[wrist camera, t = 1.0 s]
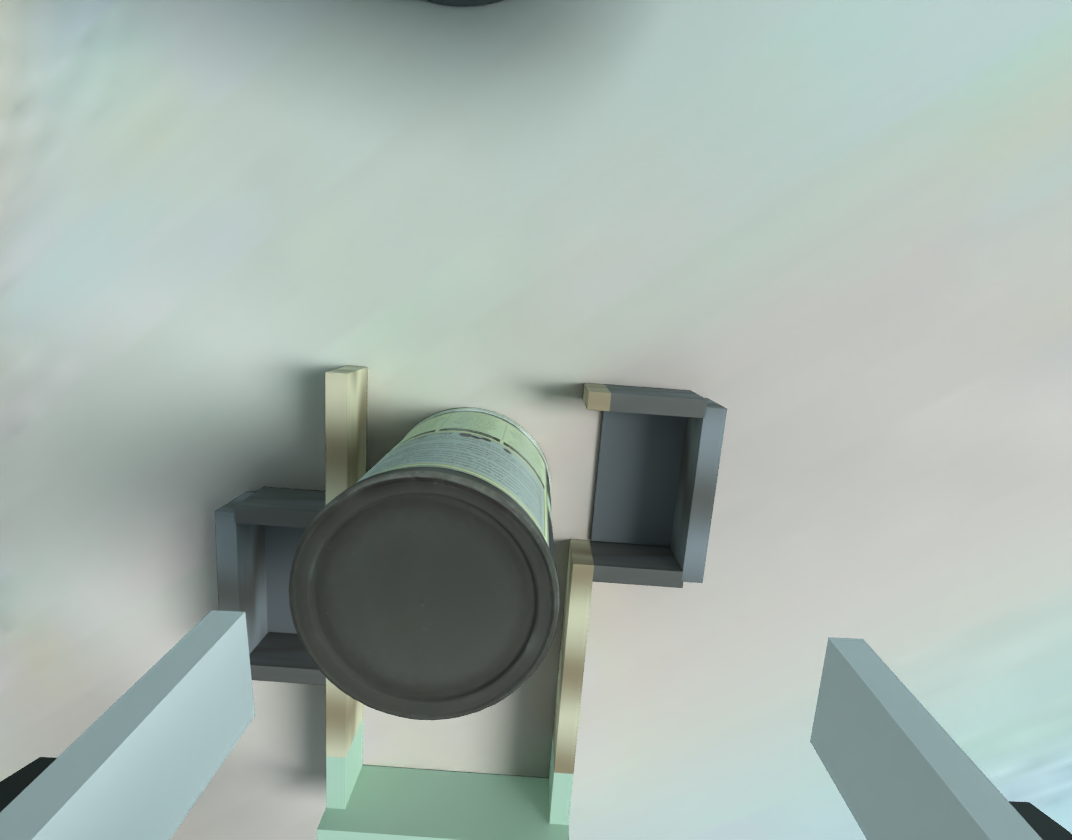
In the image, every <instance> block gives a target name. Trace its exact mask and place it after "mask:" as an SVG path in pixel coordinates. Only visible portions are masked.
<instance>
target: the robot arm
mask: <svg viewBox="0 0 1072 840" xmlns="http://www.w3.org/2000/svg"><path fill="white" fill-rule="evenodd" d="M429 1H433V2H436V3H441V4H447V5H455V6H477V5H485V4H491V3H495V2H499V1H503V0H429ZM254 716H255V710H254V699H253V689H252V678H251V668H250V657H249V646H248V636H247V625H246V614H245V612H238V611H216V610H212V611H210V612H209V613H208V614H207V615H206V616H205V617H204V618H203V619H202V620H201V621H200V622H199V623H198V624H197V625H196V626H195V627H194V628H193V629H192V630H191V631H190V632H189V633H187V634H186V635H185V636H184V637H183V638H182V639H181V640H180V641H179V642H178V643H177V644H176V645H175V646H174V647H173V648H172V649H171V650H170V651H169V652H168V653H167V654H166V655H164V656H163V657H162V658H161V659H160V660H159V661H158V662H157V663H156V664H155V665H154V666H153V667H152V668H151V669H150V670H149V671H148V672H147V673H146V674H145V675H144V676H143V677H141V678H140V679H139V680H138V681H137V682H136V683H135V684H134V685H133V686H132V687H131V688H130V689H129V690H128V691H127V692H126V693H125V694H124V695H123V696H122V697H121V698H120V699H118V700H117V701H116V702H115V703H114V704H113V705H112V706H111V707H110V708H109V709H108V710H107V711H106V712H105V713H104V714H103V715H102V716H101V717H100V718H99V719H98V720H97V721H95V722H94V723H93V724H92V725H91V726H90V727H89V728H88V729H87V730H86V731H85V732H84V733H83V734H82V735H81V736H80V737H79V738H78V739H77V740H76V741H75V742H74V743H72V744H71V745H70V746H69V747H68V748H67V749H66V750H65V751H64V752H63V753H62V754H61V755H60V756H59V757H58V758H47V757H40V758H38V759H36V760H35V761H33V762H32V763H30V764H28V765H27V766H25V767H24V768H22V769H20V770H19V771H17V772H16V773H14V774H12V775H11V776H9V777H7V778H6V779H4V780H3V781H1V782H0V840H170V838H171V837H172V836H173V834H174V833H175V831H176V830H177V828H178V827H179V825H180V824H181V822H182V821H183V820H184V818H185V817H186V815H187V814H188V812H189V811H190V809H191V808H192V806H193V805H194V804H195V802H196V801H197V799H198V798H199V796H200V795H201V793H202V792H203V790H204V789H205V788H206V786H207V785H208V783H209V782H210V780H211V779H212V777H213V776H214V774H215V773H216V772H217V770H218V769H219V767H220V766H221V764H222V763H223V761H224V760H225V758H226V757H227V756H228V754H229V753H230V751H231V750H232V748H233V747H234V745H235V744H236V742H237V741H238V740H239V738H240V737H241V735H242V734H243V732H244V731H245V729H246V728H247V726H248V725H249V724H250V722H251V721H252V719H253V718H254ZM810 742H811V743H812V745H813V747H814V749H815V750H816V752H817V754H818V756H819V757H820V759H821V761H822V762H823V764H824V766H825V768H826V769H827V771H828V773H829V775H830V776H831V778H832V780H833V782H834V783H835V785H836V787H837V789H838V790H839V792H840V794H841V795H842V797H843V799H844V801H845V802H846V804H847V806H848V808H849V809H850V811H851V813H852V815H853V816H854V818H855V820H856V821H857V823H858V825H859V827H860V828H861V830H862V832H863V834H864V835H865V837H866V839H867V840H1072V834H1071V833H1070V832H1069V831H1067V830H1066V829H1065V828H1063V827H1062V826H1060V825H1059V824H1058V823H1056V822H1055V821H1054V820H1052V819H1051V818H1050V817H1048V816H1047V815H1046V814H1044V813H1043V812H1041V811H1040V810H1039V809H1037V808H1036V807H1035V806H1033V805H1032V804H1031V803H1029V802H1010V801H1008V800H1007V799H1006V798H1005V797H1004V796H1003V795H1002V794H1001V793H1000V791H999V790H998V789H997V788H996V787H995V786H994V785H993V784H992V783H991V781H990V780H989V779H988V778H987V777H986V776H985V775H984V774H983V772H982V771H981V770H980V769H979V768H978V767H977V766H976V765H975V764H974V762H973V761H972V760H971V759H970V758H969V757H968V756H967V755H966V753H965V752H964V751H963V750H962V749H961V748H960V747H959V746H958V745H957V743H956V742H955V741H954V740H953V739H952V738H951V737H950V736H949V735H948V733H947V732H946V731H945V730H944V729H943V728H942V727H941V726H940V724H939V723H938V722H937V721H936V720H935V719H934V718H933V717H932V716H931V714H930V713H929V712H928V711H927V710H926V709H925V708H924V707H923V705H922V704H921V703H920V702H919V701H918V700H917V699H916V698H915V697H914V695H913V694H912V693H911V692H910V691H909V690H908V689H907V688H906V686H905V685H904V684H903V683H902V682H901V681H900V680H899V679H898V678H897V676H896V675H895V674H894V673H893V672H892V671H891V670H890V669H889V667H888V666H887V665H886V664H885V663H884V662H883V661H882V660H881V659H880V657H879V656H878V655H877V654H876V653H875V652H874V651H873V650H872V648H871V647H870V646H869V645H868V644H867V643H866V642H865V641H864V640H863V639H852V638H829V637H828V643H827V649H826V654H825V660H824V666H823V672H822V677H821V683H820V689H819V694H818V700H817V706H816V712H815V717H814V723H813V729H812V735H811V740H810Z"/></svg>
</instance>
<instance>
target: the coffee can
mask: <svg viewBox="0 0 1072 840" xmlns="http://www.w3.org/2000/svg"><path fill="white" fill-rule="evenodd" d="M289 605H290V610H291V616H292V620H293V624H294V627H295V629H296V632H297V635H298V637H299V639H300V641H301V643H302V645H303V647H304V648H305V650H306V652H307V654H308V655H309V657H310V658H311V660H312V661H313V663H314V664H315V665H316V666H317V668H318V669H319V670H320V671H321V673H322V674H323V675H324V676H325V677H326V678H327V679H328V680H329V681H330V682H331V683H332V684H334V685H335V686H336V687H337V688H338V689H339V690H341V691H342V692H343V693H345V694H346V695H348V696H350V697H351V698H353V699H354V700H357V701H359V702H361V703H363V704H364V705H366V706H368V707H371V708H373V709H376V710H379V711H382V712H385V713H387V714H391V715H395V716H399V717H404V718H409V719H417V720H440V719H450V718H456V717H460V716H464V715H468V714H471V713H475V712H478V711H481V710H483V709H484V708H487V707H490V706H492V705H494V704H496V703H498V702H499V701H501V700H503V699H504V698H506V697H507V696H509V695H510V694H511V693H513V692H514V691H515V690H517V689H518V688H519V687H520V686H521V685H522V684H524V683H525V682H526V681H527V680H528V678H529V677H530V676H531V675H532V674H533V672H534V671H535V670H536V669H537V667H538V666H539V665H540V663H541V662H542V660H543V659H544V657H545V655H546V653H547V651H548V649H549V647H550V644H551V642H552V639H553V637H554V633H555V630H556V626H557V620H558V614H559V582H558V577H557V571H556V567H555V563H554V547H553V533H552V516H551V478H550V473H549V468H548V465H547V461H546V459H545V457H544V454H543V453H542V451H541V449H540V447H539V446H538V444H537V443H536V441H535V440H534V439H533V438H532V437H531V436H530V435H529V433H528V432H527V431H526V430H524V429H523V428H522V427H521V426H520V425H518V424H517V423H515V422H514V421H512V420H511V419H509V418H507V417H505V416H504V415H501V414H499V413H496V412H492V411H489V410H485V409H478V408H457V409H451V410H446V411H443V412H439V413H436V414H434V415H432V416H430V417H428V418H426V419H424V420H423V421H421V422H420V423H418V424H417V425H416V426H414V427H413V428H412V429H411V430H410V431H409V432H408V433H407V434H406V435H405V436H404V438H403V439H402V441H401V442H400V443H398V444H397V445H396V446H395V447H394V448H393V449H392V450H391V451H390V452H388V453H387V454H386V455H385V456H384V457H383V458H382V459H381V460H380V461H379V462H378V463H377V464H376V465H375V466H373V467H372V468H371V469H370V470H369V471H368V472H367V473H366V474H365V475H364V476H363V477H362V478H361V479H359V480H358V481H357V482H356V483H355V484H354V485H352V486H350V487H349V488H347V489H346V490H344V491H343V492H342V493H340V494H339V495H338V496H336V497H335V498H334V499H333V500H331V501H330V502H329V503H328V504H327V505H326V506H325V507H324V508H323V509H322V510H321V511H320V512H319V513H318V514H317V515H316V516H315V518H314V519H313V520H312V521H311V523H310V524H309V526H308V527H307V529H306V531H305V532H304V534H303V536H302V538H301V540H300V542H299V544H298V547H297V549H296V552H295V555H294V558H293V561H292V568H291V571H290V578H289Z"/></svg>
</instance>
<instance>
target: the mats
mask: <svg viewBox="0 0 1072 840" xmlns="http://www.w3.org/2000/svg"><path fill="white" fill-rule="evenodd" d="M686 418H687V417H681V416H667V415H654V414H640V413H626V412H613V411H603V420H602V430H601V440H600V451H599V461H598V471H597V481H596V492H595V502H594V512H593V522H592V533H591V540H592V541H606V542H620V543H634V544H648V545H661V546H670V544H671V536H672V528H673V520H674V513H675V505H676V497H677V489H678V481H679V473H680V466H681V458H682V450H683V442H684V434H685V426H686ZM306 529H307V528H297V527H283V526H269V525H265V551H266V591H267V632H279V633H292V634H297V632H296V629H295V627H294V624H293V620H292V616H291V610H290V605H289V578H290V571H291V568H292V561H293V558H294V555H295V552H296V549H297V547H298V544H299V542H300V540H301V538H302V536H303V534H304V532H305V531H306Z"/></svg>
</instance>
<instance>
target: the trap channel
mask: <svg viewBox="0 0 1072 840" xmlns="http://www.w3.org/2000/svg"><path fill="white" fill-rule="evenodd" d="M367 374H368V367H361V366H344V367H341V368H338V369H334V370H331V371H328V372H325V441H326V491H314V490H300V489H286V488H272V487H263V488H261V489H260V490H258V491H257V492H245V493H244V494H242V495H240V496H239V497H237V498H236V499H234V500H232V501H231V502H229V503H228V504H226V505H224V506H223V507H221V508H220V509H218V510H216V511H215V533H216V556H217V579H218V602H219V611H238V612H245V614H246V625H247V636H248V646H249V657H250V668H251V678H252V680H260V681H274V682H288V683H302V684H316V685H326V756H328V757H342V758H346V755H347V753H348V751H349V749H350V746H351V744H352V742H353V739H354V737H355V735H356V733H357V730H358V728H359V726H360V723H361V721H362V719H363V703H361V702H359V701H357V700H354V699H353V698H351V697H350V696H348V695H346V694H345V693H343V692H342V691H341V690H339V689H338V688H337V687H336V686H335V685H334V684H332V683H331V682H330V681H329V680H328V679H327V678H326V677H325V676H324V675H323V674H322V673H321V671H320V670H319V669H318V668H317V666H316V665H315V664H314V663H313V661H312V660H311V658H310V657H309V655H308V654H307V652H306V650H305V648H304V647H303V645H302V643H301V641H300V639H299V637H298V635H297V634H292V633H279V632H267V591H266V551H265V525H269V526H283V527H297V528H307V527H308V526H309V524H310V523H311V521H312V520H313V519H314V518H315V516H316V515H317V514H318V513H319V512H320V511H321V510H322V509H323V508H324V507H325V506H326V505H327V504H328V503H329V502H330V501H331V500H333V499H334V498H335V497H336V496H338V495H339V494H340V493H342V492H343V491H344V490H346V489H347V488H349V487H350V486H352V485H354V484H355V483H356V482H357V481H358V480H359V479H361V478H362V477H363V476H364V475H365V474H366V452H367ZM583 401H584V403H585V405H586V408H587V410H599V411H613V412H626V413H640V414H654V415H667V416H681V417H687V418H686V426H685V434H684V442H683V450H682V458H681V466H680V473H679V481H678V489H677V497H676V505H675V513H674V520H673V528H672V536H671V544H670V546H658V545H645V544H631V543H617V542H603V541H589V540H575V539H570V548H569V559H568V570H567V581H566V593H565V604H564V615H563V626H562V637H561V648H560V660H559V671H558V682H557V693H556V704H555V715H554V727H553V747H554V773H567V774H573V773H574V763H575V753H576V743H577V732H578V722H579V712H580V702H581V692H582V682H583V672H584V662H585V652H586V642H587V632H588V622H589V612H590V602H591V592H592V582H607V583H621V584H635V585H649V586H663V587H676V588H683V582H697V583H702V582H703V575H704V568H705V561H706V554H707V547H708V539H709V532H710V525H711V518H712V511H713V504H714V497H715V490H716V483H717V476H718V469H719V462H720V455H721V448H722V441H723V433H724V426H725V419H726V412H727V409H726V408H725V407H723V406H721V405H719V404H717V403H715V402H714V401H712V400H710V399H708V398H703V397H701V396H699V395H698V394H696V393H694V392H692V391H689V390H676V389H662V388H648V387H634V386H621V385H607V384H593V383H584V392H583Z"/></svg>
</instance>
